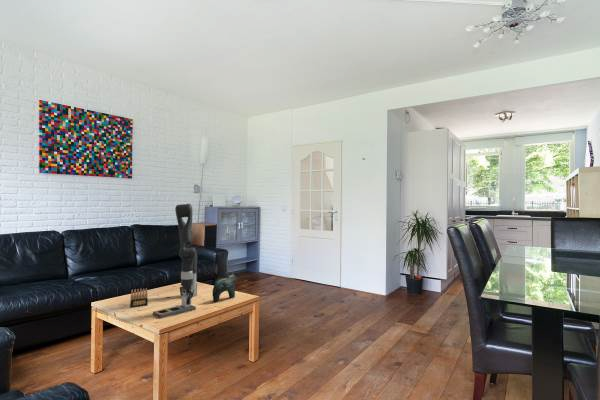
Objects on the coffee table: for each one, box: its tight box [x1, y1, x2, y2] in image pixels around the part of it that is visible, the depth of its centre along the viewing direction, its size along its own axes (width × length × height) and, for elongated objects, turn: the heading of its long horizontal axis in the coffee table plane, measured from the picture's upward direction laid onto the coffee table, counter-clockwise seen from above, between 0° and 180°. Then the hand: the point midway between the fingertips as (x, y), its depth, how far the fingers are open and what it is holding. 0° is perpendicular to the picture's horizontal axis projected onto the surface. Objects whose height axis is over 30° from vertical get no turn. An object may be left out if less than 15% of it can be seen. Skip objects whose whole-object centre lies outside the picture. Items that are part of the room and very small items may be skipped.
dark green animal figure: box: [212, 271, 237, 303], centre depth 245 cm, size 20×6×20 cm, turn 141°
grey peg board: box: [152, 304, 197, 319], centre depth 214 cm, size 24×10×2 cm, turn 140°
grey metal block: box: [181, 295, 192, 308], centre depth 220 cm, size 4×4×9 cm
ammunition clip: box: [129, 287, 149, 309], centre depth 225 cm, size 11×2×12 cm, turn 124°
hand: (186, 303), depth 220 cm, fingers closed on grey metal block, 4 cm apart
